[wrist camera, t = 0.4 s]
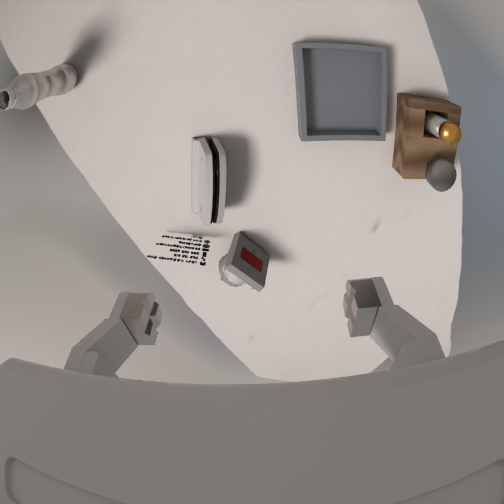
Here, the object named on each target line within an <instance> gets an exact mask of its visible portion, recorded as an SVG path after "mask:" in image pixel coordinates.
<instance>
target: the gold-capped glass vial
mask: <svg viewBox="0 0 504 504" xmlns="http://www.w3.org/2000/svg"><path fill="white" fill-rule="evenodd" d="M424 129H425V130H427V131H428V132H430V133H432V134H433V135H435V136H436V137H438V138H439V139H441V140H442V141H444V142H445V143H447V144H448V145H451V146H453V145H456V144H457V143H458V142H459V141H460V138H461V130H460V128H459V127H458V126H457V125H456V124H454V123H452V122H450V121H448V120H446V119H444V118H442V117H440V116H438V115H437V114H434V113H432V112H430V111H428V110H425V122H424Z"/></svg>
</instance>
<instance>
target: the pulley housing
mask: <svg viewBox="0 0 504 504" xmlns="http://www.w3.org/2000/svg"><path fill="white" fill-rule="evenodd" d="M425 110H431V111H432V113H434V114H437V115H438V116H440V117H442V118H444V119H446V120H448V121H450V122H452V123H454V124H456V125H457V126H458V127H459V124H460V115H461V107H460V106H458V105H456V104H453V103H451V102H449V101H446V100H442V99H436V98H430V97H423V96H416V95H408V94H399V93H397V113H396V131H395V144H394V155H393V165H392V167H393V168H394V169H395V170H396V171H397V172H398V173H399V174H400V175H401V176H402V177H403V178H404V179H427V181H428V183H429V184H430V185H431V186H432V187H433V188H434V189H435V190H437V191H440V192H443V191H446V190H448V189H450V188H451V187H452V186H453V184H454V182H455V180H456V169H455V167H454V166H453V165H454V160H455V154H456V147H457V144H456V145H453V146H451V145H448V144H447V143H445V142H444V141H442V140H441V139H439V138H438V137H436V136H435V135H433V134H432V133H430V132H428V131H427V130H424V122H425Z"/></svg>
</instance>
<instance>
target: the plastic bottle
mask: <svg viewBox="0 0 504 504" xmlns="http://www.w3.org/2000/svg"><path fill="white" fill-rule="evenodd" d="M76 81H77V73H76V71H75V69H74V68H73V67H72V66H71V65H67V64H61V65H58V66H56V67H54V68H52V69H49V70H47V71H43V72H38V73H25V74H21V75H19V76H18V77H17V78H16V79H14V80H13V82H12V83H11V85H10V86H8V87H6V88H4V89H2V90H1V91H0V109H1V110H3V111H4V110H7V109H10V108H13V107H14V108H17V109H27V108H29V107H31V106H32V105H34V104H36V103H37V102H39V101H40V100H42V99H44V98H46V97H50V96H54V95H63V94H66V93H67V92H69V91H70V90H72V89H73V88H74V86H75V84H76Z"/></svg>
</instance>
